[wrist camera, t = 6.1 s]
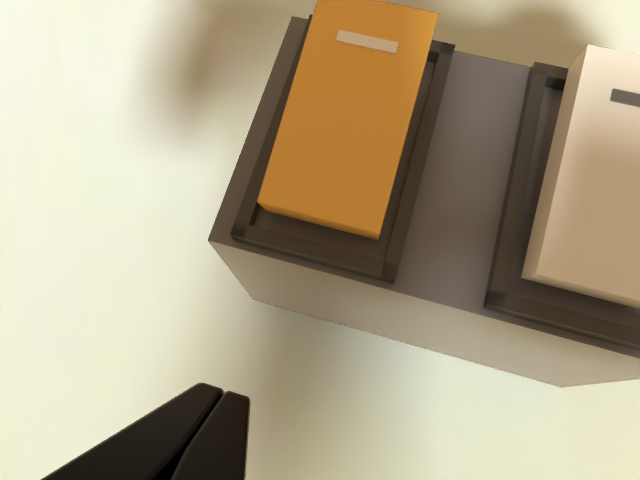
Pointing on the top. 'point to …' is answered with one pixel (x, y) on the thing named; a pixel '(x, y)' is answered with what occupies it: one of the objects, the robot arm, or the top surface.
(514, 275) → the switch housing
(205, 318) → the top surface
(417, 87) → the amber rocker
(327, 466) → the top surface
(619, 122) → the white rocker
